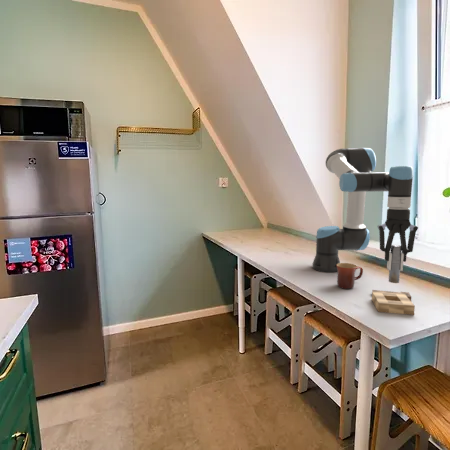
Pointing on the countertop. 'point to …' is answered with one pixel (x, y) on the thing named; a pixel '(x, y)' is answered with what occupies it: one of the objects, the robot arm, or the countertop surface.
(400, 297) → the socket block
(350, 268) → the mug
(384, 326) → the countertop surface
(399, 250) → the pin
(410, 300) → the bar
